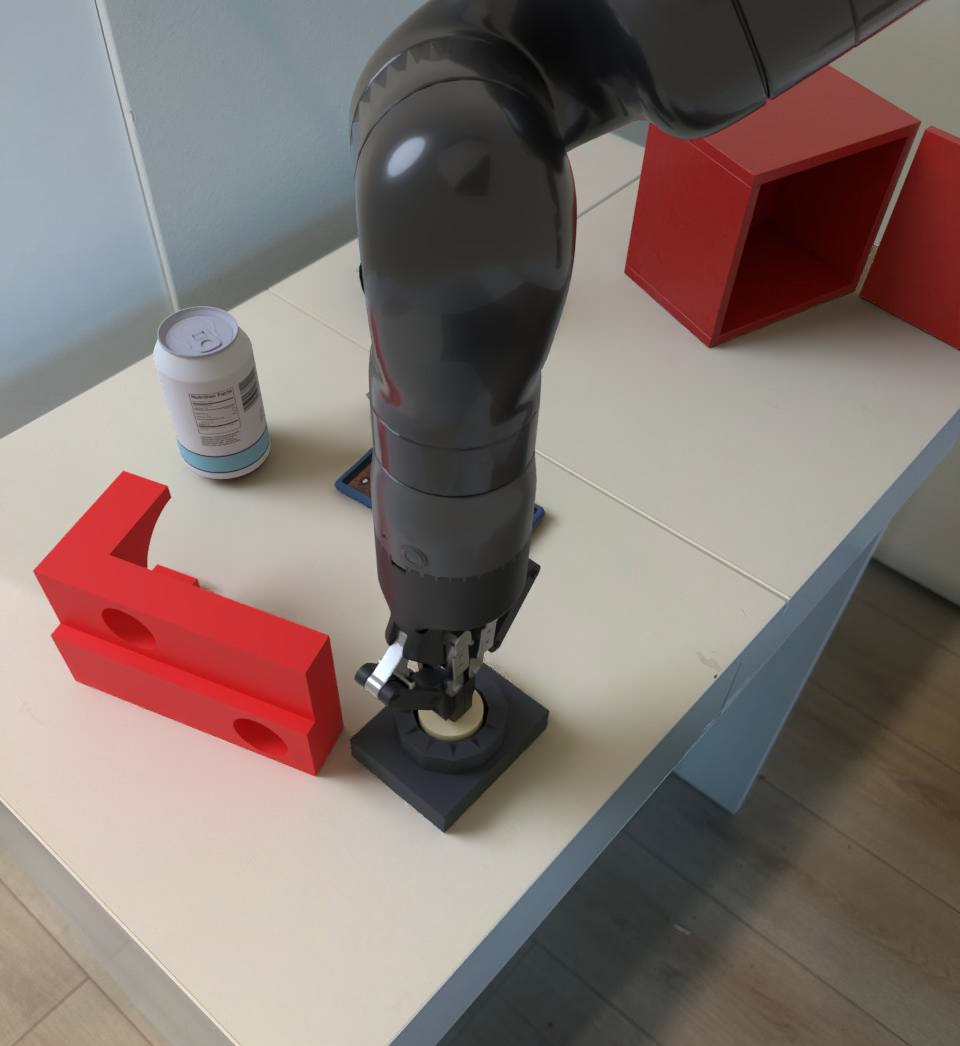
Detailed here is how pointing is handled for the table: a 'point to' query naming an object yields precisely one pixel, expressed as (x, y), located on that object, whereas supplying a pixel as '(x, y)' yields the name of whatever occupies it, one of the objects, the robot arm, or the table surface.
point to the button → (453, 723)
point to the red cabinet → (767, 207)
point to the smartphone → (359, 485)
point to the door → (923, 243)
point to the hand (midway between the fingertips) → (450, 707)
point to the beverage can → (212, 392)
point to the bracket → (185, 638)
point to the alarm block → (450, 750)
